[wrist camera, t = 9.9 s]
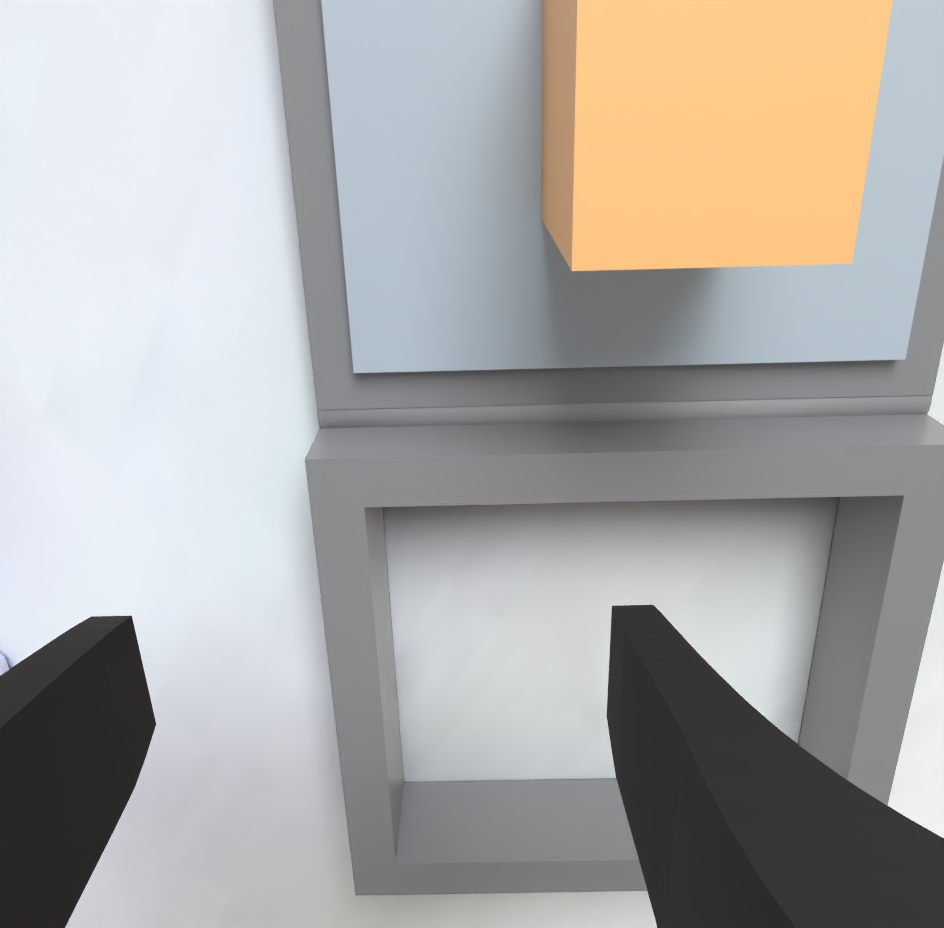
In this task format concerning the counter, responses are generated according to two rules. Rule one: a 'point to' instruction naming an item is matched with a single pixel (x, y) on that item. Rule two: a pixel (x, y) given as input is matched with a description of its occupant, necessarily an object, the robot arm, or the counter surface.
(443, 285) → the grey framed tray
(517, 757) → the counter surface
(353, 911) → the counter surface
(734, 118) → the block
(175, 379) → the counter surface
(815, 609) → the counter surface
